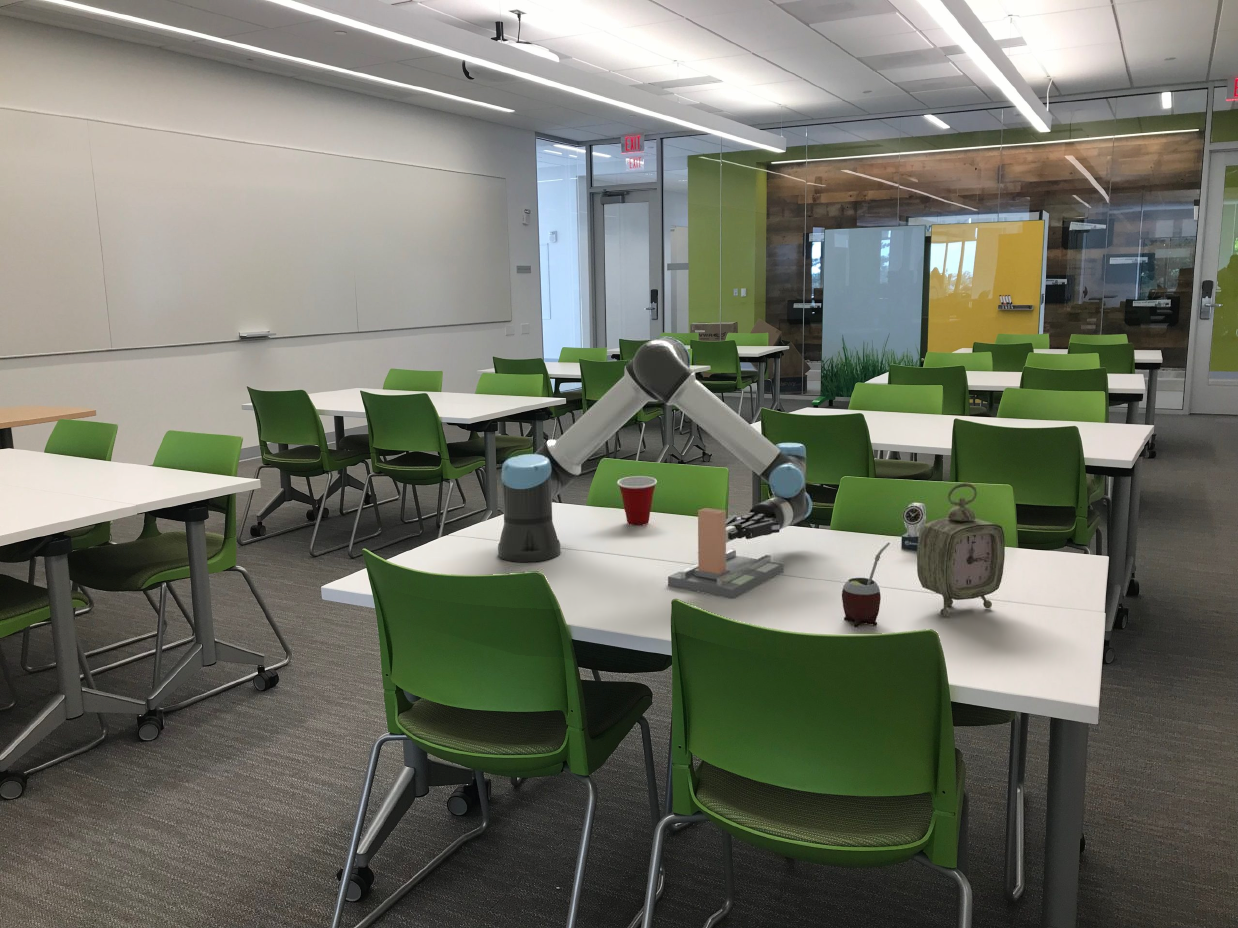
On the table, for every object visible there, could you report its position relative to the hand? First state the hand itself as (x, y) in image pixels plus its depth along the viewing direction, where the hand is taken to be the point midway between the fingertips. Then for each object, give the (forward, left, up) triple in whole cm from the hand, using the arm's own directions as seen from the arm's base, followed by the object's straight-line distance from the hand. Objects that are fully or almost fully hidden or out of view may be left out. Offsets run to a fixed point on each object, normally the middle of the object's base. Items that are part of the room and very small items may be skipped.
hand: (717, 538), depth 202 cm
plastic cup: (-46, +34, -10) cm, 58 cm away
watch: (+25, +50, -10) cm, 57 cm away
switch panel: (0, +4, -10) cm, 11 cm away
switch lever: (0, -2, -8) cm, 8 cm away
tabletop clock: (+47, +12, -10) cm, 50 cm away
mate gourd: (+35, -5, -10) cm, 37 cm away
